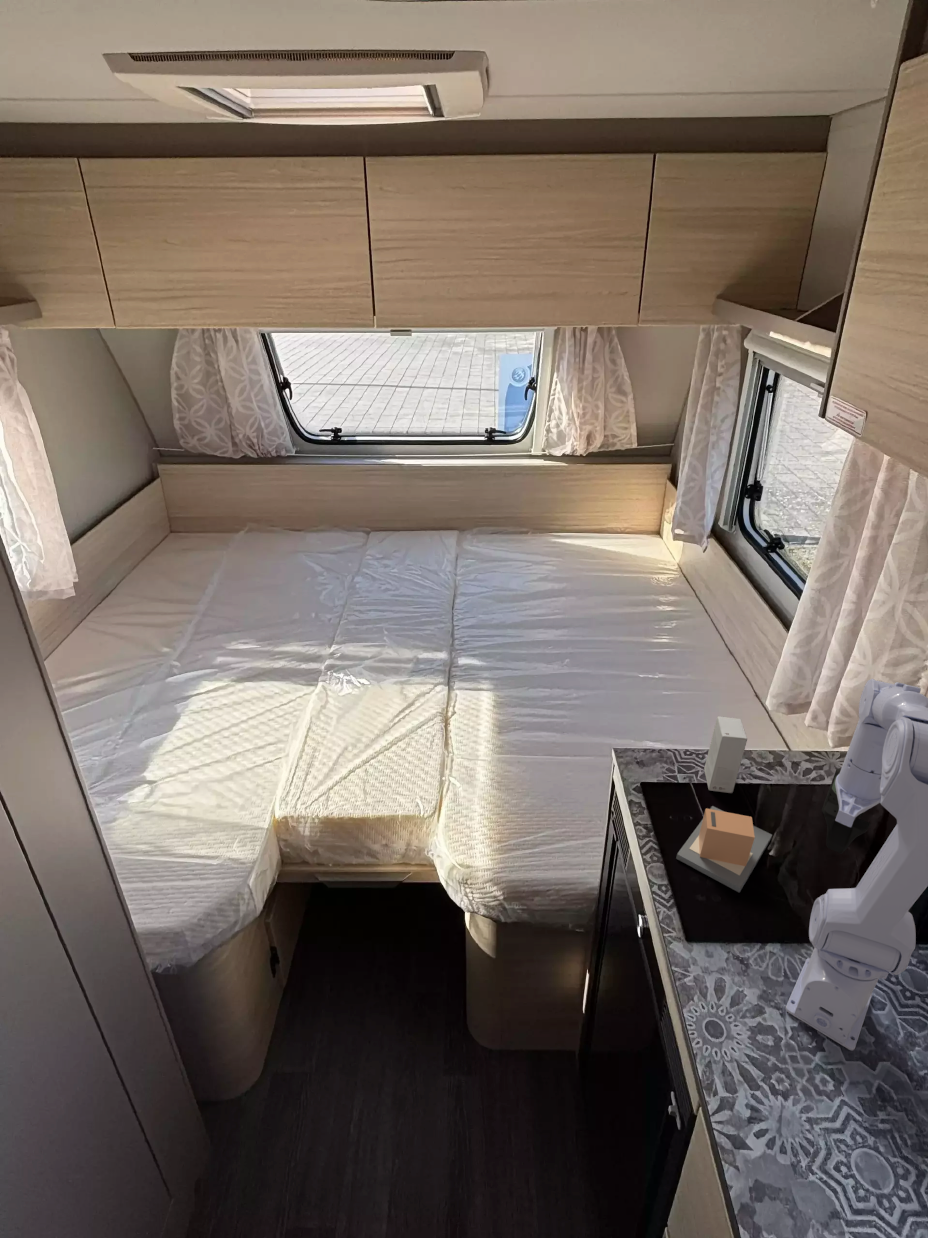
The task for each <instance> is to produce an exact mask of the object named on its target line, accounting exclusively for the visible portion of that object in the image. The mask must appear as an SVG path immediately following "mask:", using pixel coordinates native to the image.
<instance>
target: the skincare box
mask: <svg viewBox="0 0 928 1238" xmlns="http://www.w3.org/2000/svg"><path fill="white" fill-rule="evenodd" d="M747 743H748V737H747V733H746V731H745V729H744V725H743V722H742V719H741V718H737V717H736V718H734V717H725V716H719V715H718V716H717V717H716V720H715V725H714V728H713V731H712V737H711V741H710V743H709V748H708V752H707V757H706V759H705V765H704V769H703V770H704V774H705V779H706V784H707V788H708V791H713V792H720V793H728V794H733V792H734V789H735V786H736V781H737V778H738V775H739V771H740V767H741V764H742V759H743V757H744V753H745V750H746V745H747Z"/></svg>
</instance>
